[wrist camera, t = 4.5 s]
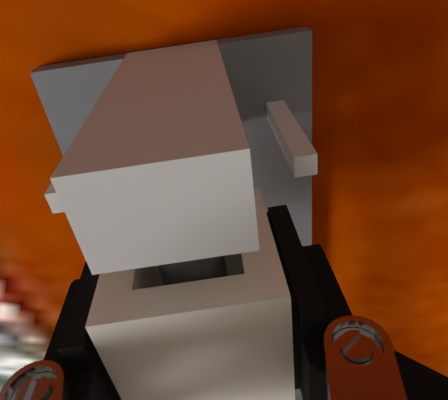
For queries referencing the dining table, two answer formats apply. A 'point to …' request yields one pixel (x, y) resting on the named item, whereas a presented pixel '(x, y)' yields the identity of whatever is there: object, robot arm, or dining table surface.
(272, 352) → the sleeve
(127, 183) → the grey rod stand
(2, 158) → the dining table surface
